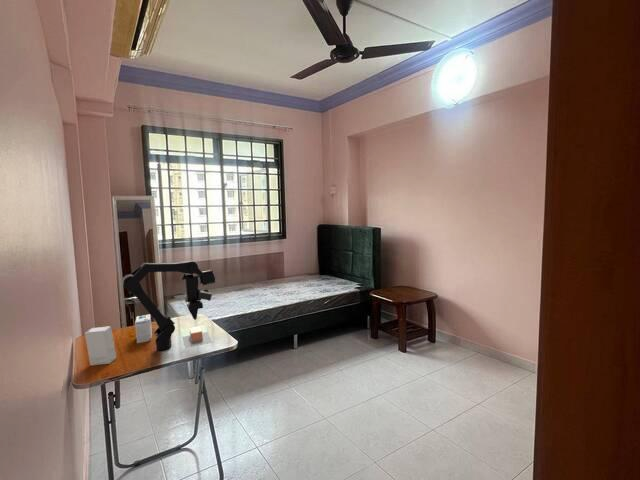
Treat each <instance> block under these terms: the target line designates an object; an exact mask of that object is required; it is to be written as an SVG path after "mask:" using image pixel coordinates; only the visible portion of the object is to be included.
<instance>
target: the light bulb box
mask: <svg viewBox="0 0 640 480" xmlns="http://www.w3.org/2000/svg"><path fill="white" fill-rule="evenodd" d="M151 317H152V315H151V314H150V313H149V314H144V315H138V316H136V317H135V321H134V328H135V336H136V344H140V343H141V344H142V343H147V342H151V341H152V337H153V329H152V319H151Z"/></svg>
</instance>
